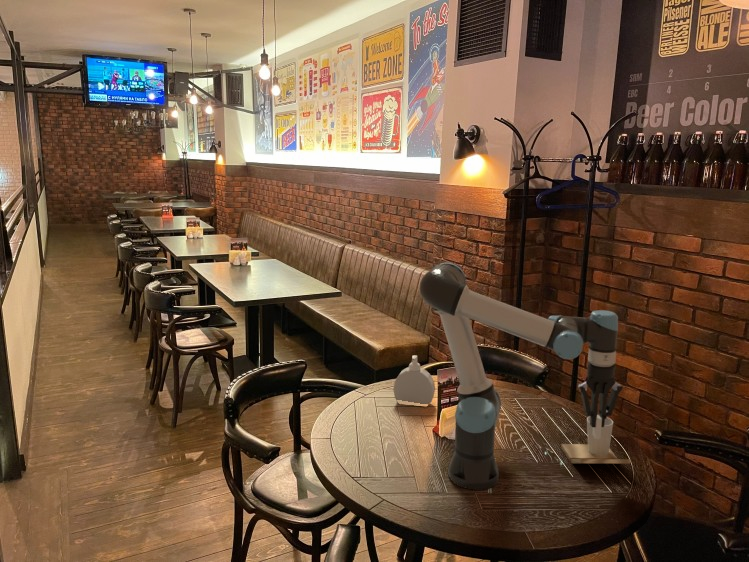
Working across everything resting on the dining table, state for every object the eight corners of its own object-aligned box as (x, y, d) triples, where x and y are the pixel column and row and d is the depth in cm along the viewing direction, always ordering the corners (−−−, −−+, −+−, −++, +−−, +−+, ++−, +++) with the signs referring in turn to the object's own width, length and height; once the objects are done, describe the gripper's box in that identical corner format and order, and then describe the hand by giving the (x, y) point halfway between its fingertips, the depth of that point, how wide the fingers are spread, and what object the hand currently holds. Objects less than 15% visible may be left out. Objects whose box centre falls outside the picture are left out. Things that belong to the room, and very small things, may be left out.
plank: (580, 463, 169) (580, 459, 170) (571, 463, 178) (570, 459, 178) (630, 463, 169) (630, 459, 170) (618, 463, 178) (618, 459, 178)
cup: (613, 461, 178) (615, 426, 176) (587, 460, 180) (589, 425, 178) (608, 449, 186) (610, 415, 184) (583, 448, 188) (584, 414, 185)
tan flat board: (570, 461, 179) (570, 458, 178) (561, 447, 188) (561, 444, 188) (617, 462, 178) (617, 458, 178) (606, 447, 188) (606, 444, 187)
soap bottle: (392, 404, 222) (393, 356, 218) (395, 399, 227) (396, 352, 223) (432, 409, 218) (433, 360, 214) (435, 403, 223) (436, 355, 219)
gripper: (583, 367, 162) (579, 442, 166) (629, 367, 161) (623, 442, 166) (574, 358, 169) (570, 431, 174) (618, 358, 169) (612, 430, 173)
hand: (596, 436), depth 170 cm, fingers closed
